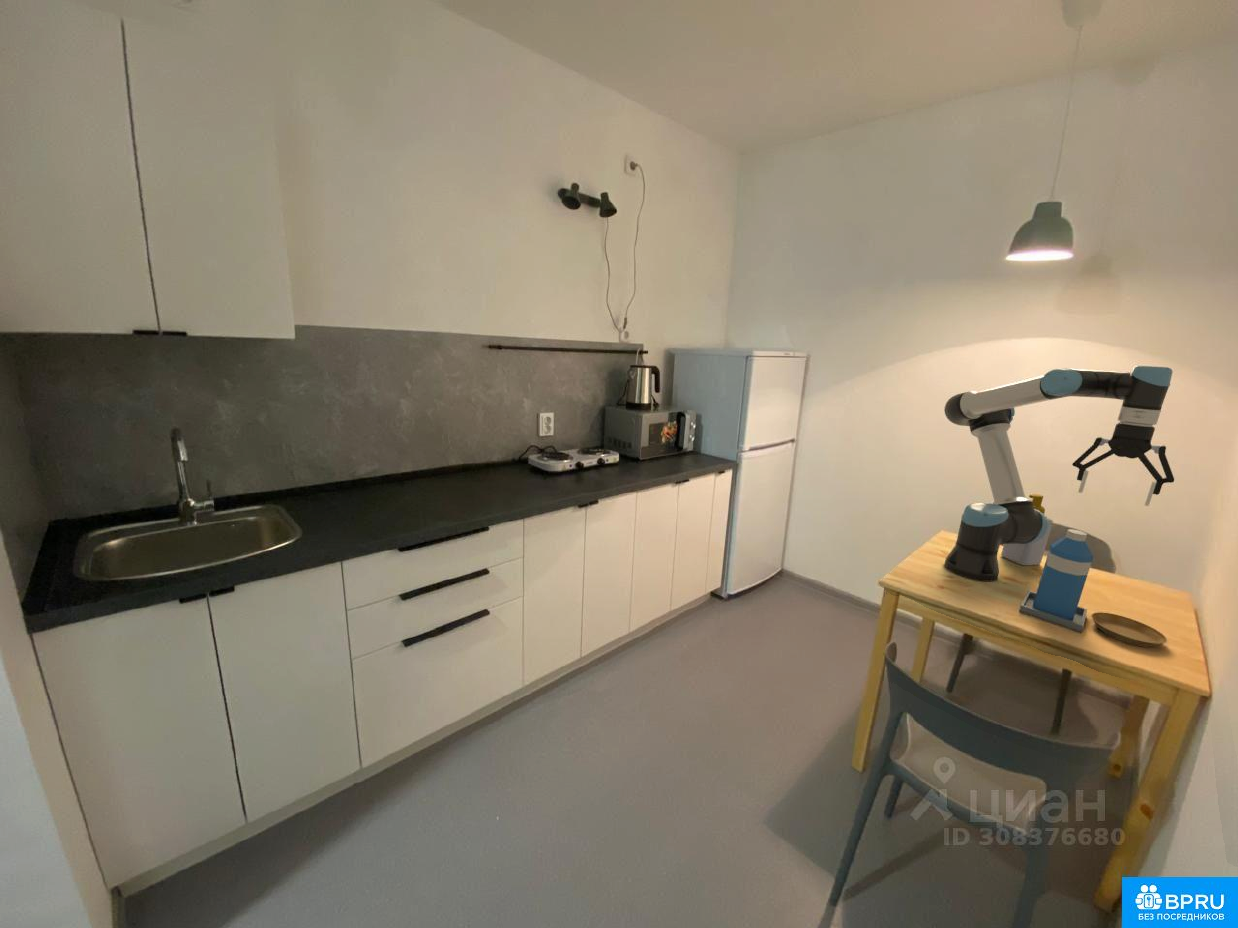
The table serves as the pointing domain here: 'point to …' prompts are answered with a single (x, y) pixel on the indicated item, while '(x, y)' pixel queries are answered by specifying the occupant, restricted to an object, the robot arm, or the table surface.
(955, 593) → the table surface
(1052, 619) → the tray
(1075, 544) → the water bottle
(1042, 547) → the soap bottle
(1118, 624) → the plant saucer
